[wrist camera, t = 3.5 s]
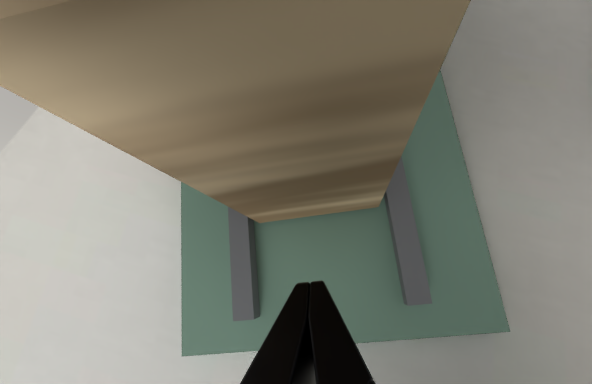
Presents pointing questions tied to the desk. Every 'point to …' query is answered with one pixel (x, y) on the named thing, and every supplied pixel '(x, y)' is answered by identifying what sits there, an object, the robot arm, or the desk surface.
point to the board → (349, 256)
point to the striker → (239, 89)
